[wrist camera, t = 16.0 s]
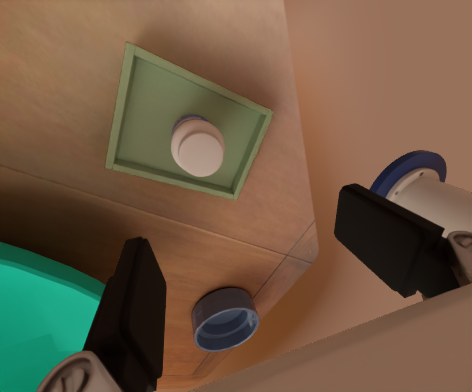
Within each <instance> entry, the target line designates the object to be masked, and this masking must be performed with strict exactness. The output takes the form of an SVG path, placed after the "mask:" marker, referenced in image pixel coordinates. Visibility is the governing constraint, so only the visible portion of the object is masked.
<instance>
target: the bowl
mask: <svg viewBox="0 0 472 392" xmlns="http://www.w3.org/2000/svg"><path fill="white" fill-rule="evenodd" d="M259 321H260V320H259V316H258V313H257V311H256V308H255V306H254V303H253V301H252V298H251V296H250V295H249V294H248V293H247V292H246V291H244V290H242V289H239V288H227V289H221V290H218V291H215V292H213V293H210V294H209V295H207V296H206V297H204V298H203V299H201V300H200V301H199V302H198V304H197V305H196V306H195V307H194V310H193V312H192V326H193V337H194V343H195V344H196V346H197V347H198V348H200V349H202V350H203V351H209V352H217V351H224V350H228V349H231V348H233V347H236V346H238V345H240V344H241V343H243V342H245V341H246V340H248V339H249V338H250V337H251V336H252V335H253V334H254V333H255V331H256V330H257V328H258V325H259Z"/></svg>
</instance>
